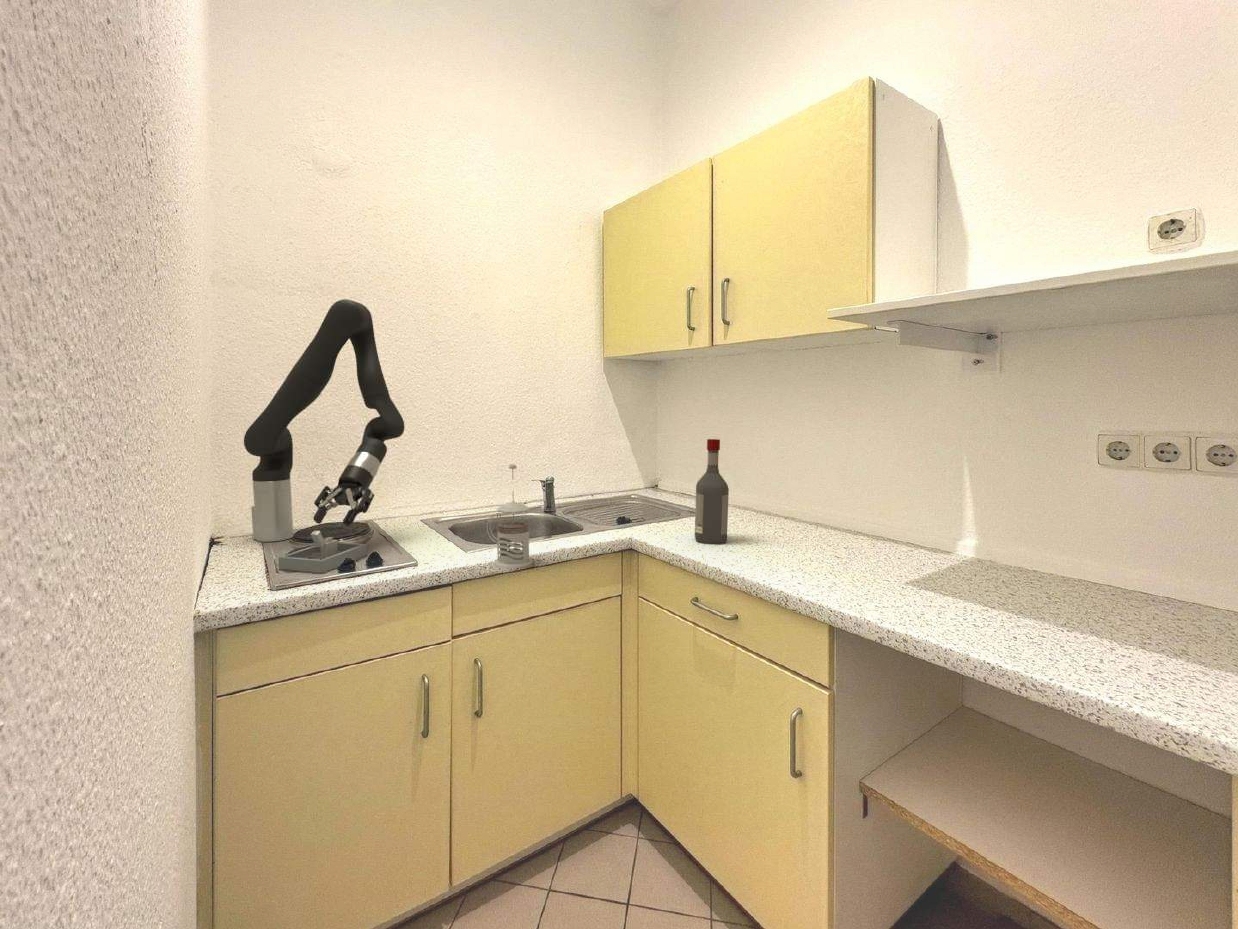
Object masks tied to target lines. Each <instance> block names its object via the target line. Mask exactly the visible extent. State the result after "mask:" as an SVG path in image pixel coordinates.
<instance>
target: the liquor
mask: <svg viewBox="0 0 1238 929" xmlns="http://www.w3.org/2000/svg"><path fill="white" fill-rule="evenodd" d="M706 450H707V463H706V464H707V465H706V466H707V468H706V469H705V470H706V472H705V473H704V474H703V475H702V476H701V477H700V478H699V479H698V480H697V482H696V486H695V508H694V509H695V512H694V513H695V516H694V539H695V541H696V543H700V544H702V543H703V544H704V545H705V544H706V545H708V544H709V545H722V543H723V544H726V542H727V541H728V523H729V522H728V520H729V519H728V518H729V517H728V516H729V492H730V490H729V489H730V488H729V486H728V483H727V482H726V480H725V479H724V477H723V476H722V475H721V474H720V469H719V451H720V450H721V440H720V439H718V438H707V440H706ZM703 544H702V545H703Z"/></svg>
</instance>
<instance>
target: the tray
mask: <svg viewBox="0 0 1238 929" xmlns="http://www.w3.org/2000/svg"><path fill="white" fill-rule="evenodd" d="M337 550H338V551H341V553H338V554H335V555H333V556H330V557H327V558H325V559H322V560H320V559H308V558H305V557H306V556H307V555H310V554H312V553H315V552H321V548H320V547H316V545H315V544H314V545H311V546H309V547H306V548H303V549H299V550H296V551H294V552H290V553H287V554H285V555H282V556H278V558H277V560H278V570H279V571H287V572H288V571H291V572H299V573H314V574H322V575H323V574H326V573H328V572H330V571H332V570H335V569H338V568H340V567H341V566H340V565H341V564H342V563H343V562H344V560H345V559H346V558H351V559H353V560H354V561H353V562H355V561H358V560H360V559H363V558H365V557H367V556H368V544H367V543H354V542H340V541H337Z"/></svg>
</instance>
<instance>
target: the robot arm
mask: <svg viewBox="0 0 1238 929" xmlns="http://www.w3.org/2000/svg"><path fill="white" fill-rule="evenodd" d="M324 316H325V317H324V319H323V320H322V323H321V325H320V326H319V328H318V330H317V331H316V334H315V336H314V338H313V339H312V340H311V341H310V343H309V345H308V346H307V347H305V348H306V349H305V350H304V351H303V353H302V354H301V355H300V357H299V359H298V360H297V361H296V363H295V364H294V366H292V368H291V370H290V371H289V373H288V374H287V376H286V378H285V379H284V381H283V383H282V384H281V385H280V386H279V388H278V390H277V391H276V392H275V394H274V395H273V397H272V399H271V400H270V402H269V403H268V405H267V406H266V407H265V408H264V410H263V411H262V412H261V413H260V414H259V416H257V418H256V419H255V420H254V422H252V424H250V426H249V427H248V428H247V430H246V431H245V433H244V437H243V445H244V449H245V450H246V451H247V453H249V455H252V456H254V457H258V458H259V462H258V464H257V466H256V467H255V468H254V469H253V470H252V473H251V476H252V491H253V492H252V493H253V506H251V509H250V510H251V525H252V539H253V540H256V541H258V542H262V543H266V542H267V543H268V542H280V541H284V540H288V539H291V538H294V522H293V519H294V518H293V502H292V485H291V484H292V483H291V473H292V469H293V466H294V464H293V463H294V462H293V461H294V459H293V458H294V457H293V456H294V449H293V448H294V447H293V446H294V443H293V436H292V434H291V431H290V430H289V428H288V426H289V424H290V423H292V422H293V420H294V418H296V417H297V416H299V414H301V413H302V412H303V411H304V410H306V409H307V408H308V407H309V406H311V404H313V403H314V402H315V401H316V400H317V399H318V398H319V396H320V395H321V394H322V392H323V391H324V390H325V388H326V386H327V385H328V383H329V382H330V380H331V379H332V376H333V372H334V370H335V366H336V362H337V358H338V356H339V353H340V352H341V350H342V348H343V347H344V346H345V345H346V344H347V342H348V341H350V342H351V345H352V348H353V351H354V355H355V363H356V376H357V383H358V386H359V390H360V393H361V397H362V399H363V402H364V405H365V407H366V408H367V409H371V410H375V411H376V412H377V413H378V416H376V417H374V418H371V420H369V421H368V423H367V424H366V426H365V428H364V432H363V436H362V439H361V443H360V445H359V446H358V448H357V450H356V452H355V453H354V455H353V456H352V457H351V458H350V459H349V461H348V463H347V464H346V466H345V468H344V470H343V471H342V473H341V475H340V476H339V477H338V482H337V483H338V484H337V486H336V487H334V488H331V487H329V486H328V485H325V486H324V487H323V489H322V490H321V492H320V493H319V495H318V496H317V498H316V499H315V500H314V501H313V504H314V506H315V507H316V508H317V510H316V512H315V514H314V515H313V518H312V519H313V521H314V522H315V523H316V524H319V525H320V524H322V522H323V520H324V518H325V517H326V515H327V514H328V511H330V510H331V509H333V508H334V509H335V508H337V507H338V506H347V507H350V509H348V511H347V513H346V515H345V517H344V518H343V519H342V523H343V524H344V526H346V527H350V526H351V525H352V524H353V523H354V521H355V519H356V517H357V515H360V513H363V514H364V513H367V512H368V510H369V508H370V506H371V504H372V502H373V499H374V497H375V493H374V492H373V491H372V490H371V489H370V486H371V484H372V482H373V481H374V479H375V477H376V475H377V473H378V471H379V469H380V466H381V464H382V462H383V460H384V458H385V457H386V454H387V452H388V446H387V445H386V444H385V443H384V442H386V441H389V440H393V439H397V438H400V437H401V436H403V434H404V432H405V421H404V419H403V416H402V413H400V411H399V410H398V408H397V406H396V404H395V403H394V401H393V400H392V397H391V396H390V393H389V389H388V387H387V383H386V379H385V377H384V374H383V370H382V366H381V362H380V359H379V358H380V357H379V353H378V349H377V343H376V337H375V330H374V329H375V328H374V323H373V317H372V313H371V311H370V310H369V308H368V307H367V306H365V305H364V304H362V303H360V302H358V301H355V300H351V299H346V298H344V299H340V300H337V301H336V302H334V303H333V304H332V305H331V306H330V308H329V309H328V311H327V313H326V315H324ZM333 500H334V502H333Z"/></svg>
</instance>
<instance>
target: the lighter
mask: <svg viewBox="0 0 1238 929" xmlns="http://www.w3.org/2000/svg"><path fill="white" fill-rule="evenodd" d="M310 536H311V538H312V541H313V543H314V545H316V547H320V548H321V560H322V559H325V558H327V557H330V556H333V555H335V554H338V550H337V542H338V540H337V539H334V537H331V536H330V537H326V538H324V537H323V535H322V532H321V531H320V530H313V531H312V532H311V533H310Z"/></svg>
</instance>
